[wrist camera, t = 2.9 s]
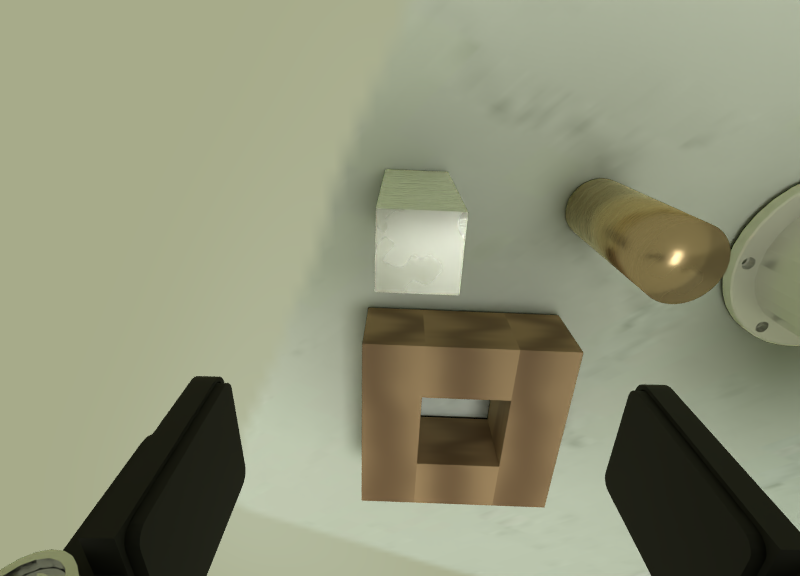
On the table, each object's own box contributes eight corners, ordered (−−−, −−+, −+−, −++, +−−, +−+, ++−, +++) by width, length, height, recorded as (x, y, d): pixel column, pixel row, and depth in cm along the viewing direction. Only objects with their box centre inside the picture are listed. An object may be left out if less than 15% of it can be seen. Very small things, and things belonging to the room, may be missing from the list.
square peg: (447, 171, 28) (468, 212, 19) (442, 231, 30) (459, 295, 21) (385, 169, 28) (375, 208, 19) (384, 229, 30) (374, 292, 21)
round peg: (634, 179, 28) (744, 223, 19) (619, 239, 30) (712, 305, 21) (572, 177, 28) (652, 219, 19) (560, 236, 30) (628, 302, 21)
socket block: (558, 315, 32) (583, 352, 28) (527, 457, 38) (544, 507, 33) (368, 307, 32) (362, 343, 28) (366, 450, 38) (361, 500, 33)
